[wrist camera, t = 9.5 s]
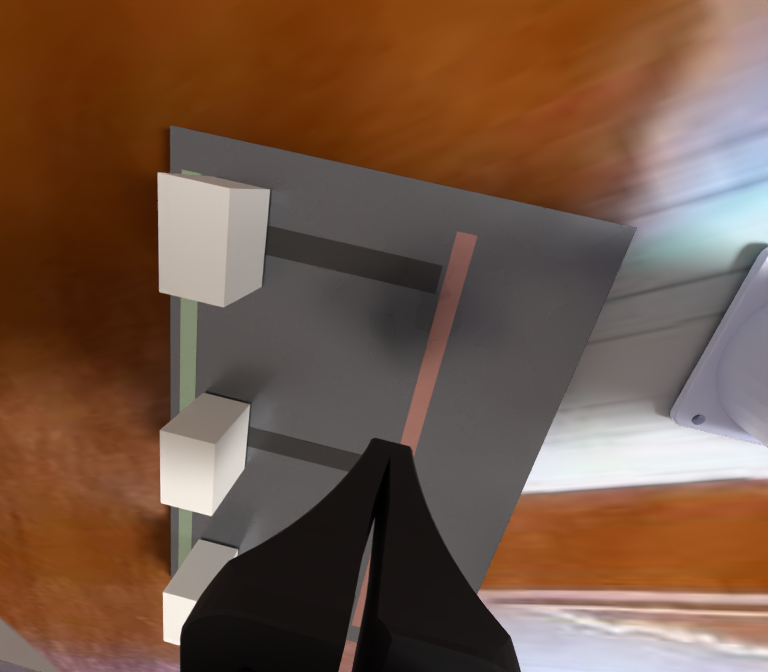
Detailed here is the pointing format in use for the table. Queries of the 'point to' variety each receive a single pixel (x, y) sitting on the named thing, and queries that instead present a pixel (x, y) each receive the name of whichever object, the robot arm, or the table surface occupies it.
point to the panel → (387, 343)
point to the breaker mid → (203, 453)
